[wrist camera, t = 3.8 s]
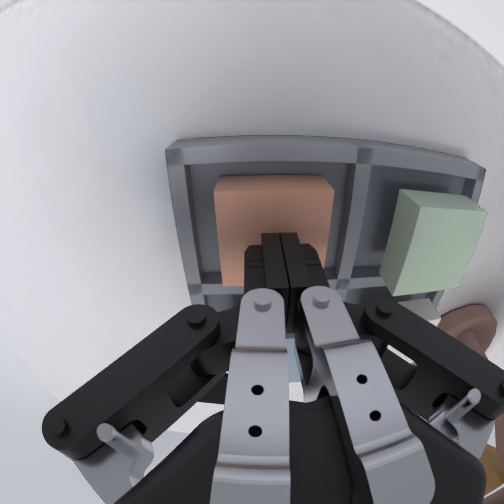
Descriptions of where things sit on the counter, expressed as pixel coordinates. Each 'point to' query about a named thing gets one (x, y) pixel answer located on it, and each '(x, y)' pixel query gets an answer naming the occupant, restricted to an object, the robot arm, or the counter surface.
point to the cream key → (423, 310)
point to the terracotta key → (269, 215)
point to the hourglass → (478, 339)
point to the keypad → (343, 211)
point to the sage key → (430, 241)
